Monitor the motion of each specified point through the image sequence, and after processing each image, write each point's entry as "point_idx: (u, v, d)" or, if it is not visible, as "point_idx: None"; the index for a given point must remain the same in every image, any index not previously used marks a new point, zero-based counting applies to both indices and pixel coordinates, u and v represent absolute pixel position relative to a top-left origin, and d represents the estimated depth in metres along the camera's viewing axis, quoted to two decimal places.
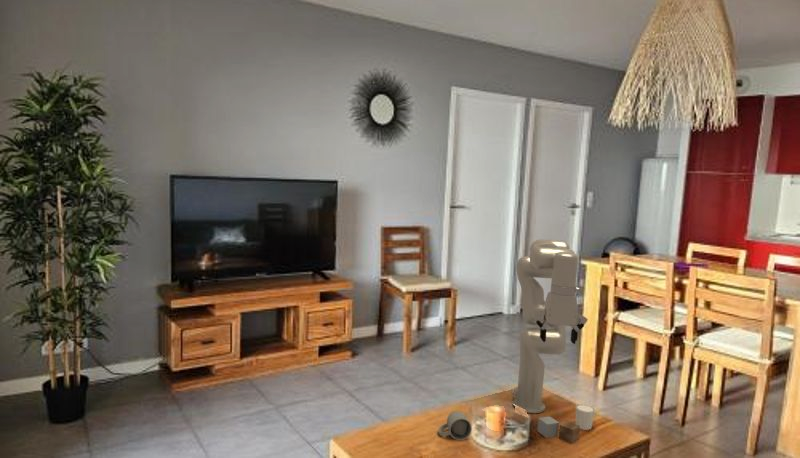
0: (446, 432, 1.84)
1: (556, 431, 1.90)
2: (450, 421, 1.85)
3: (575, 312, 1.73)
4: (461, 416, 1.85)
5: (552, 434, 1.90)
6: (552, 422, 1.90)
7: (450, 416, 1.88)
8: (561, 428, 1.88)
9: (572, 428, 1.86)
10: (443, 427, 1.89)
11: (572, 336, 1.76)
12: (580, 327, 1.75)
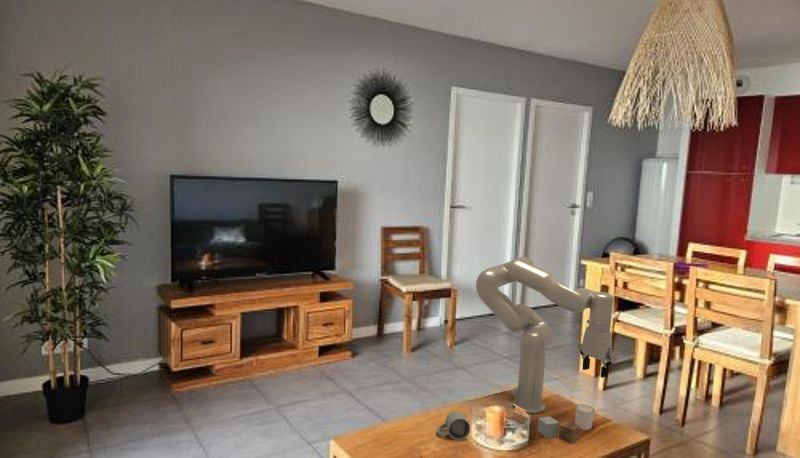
0: (445, 432, 1.84)
1: (556, 431, 1.90)
2: (449, 421, 1.85)
3: None
4: (460, 416, 1.85)
5: (552, 434, 1.90)
6: (552, 422, 1.90)
7: (449, 416, 1.88)
8: (561, 428, 1.88)
9: (572, 428, 1.86)
10: (442, 427, 1.89)
11: (587, 364, 2.02)
12: None
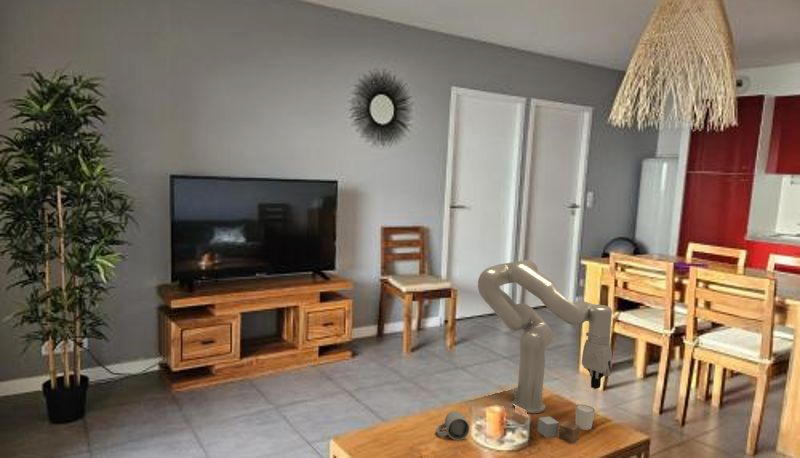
0: (444, 432, 1.84)
1: (556, 431, 1.90)
2: (448, 421, 1.85)
3: None
4: (459, 416, 1.85)
5: (552, 434, 1.90)
6: (552, 422, 1.90)
7: (448, 416, 1.88)
8: (561, 428, 1.88)
9: (572, 428, 1.86)
10: (441, 427, 1.89)
11: None
12: None
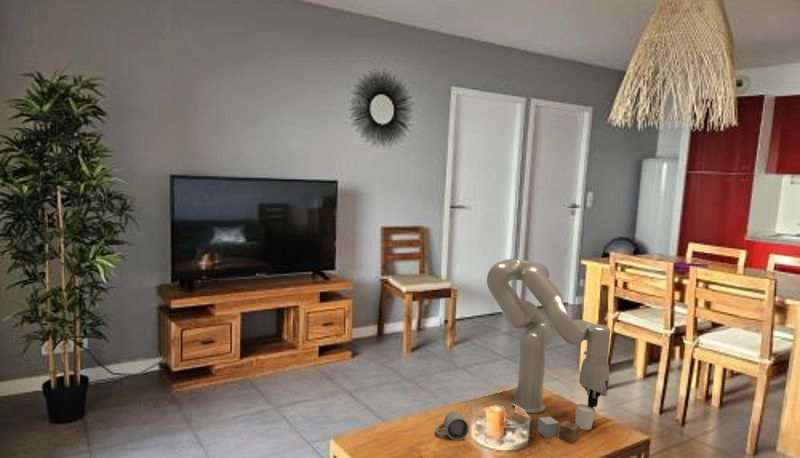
0: (443, 432, 1.84)
1: (556, 431, 1.90)
2: (447, 421, 1.85)
3: None
4: (458, 416, 1.85)
5: (552, 434, 1.90)
6: (552, 422, 1.90)
7: (447, 416, 1.88)
8: (561, 428, 1.88)
9: (572, 428, 1.86)
10: (440, 427, 1.89)
11: None
12: None
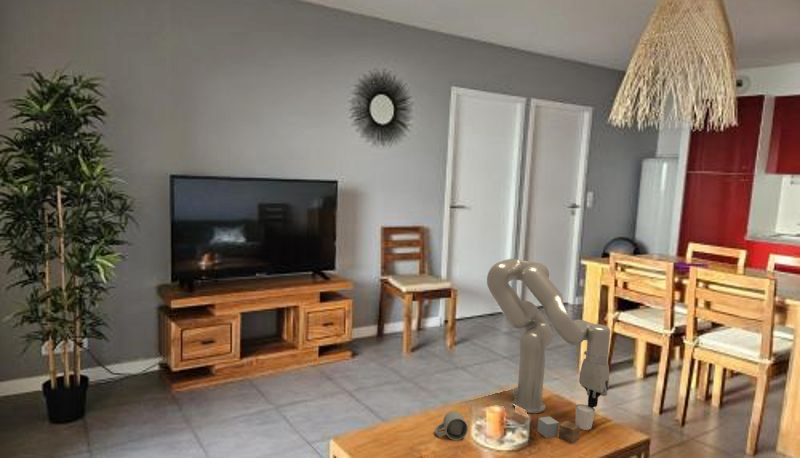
0: (442, 432, 1.84)
1: (556, 431, 1.90)
2: (446, 421, 1.85)
3: None
4: (457, 416, 1.85)
5: (552, 434, 1.90)
6: (552, 422, 1.90)
7: (446, 416, 1.88)
8: (561, 428, 1.88)
9: (572, 428, 1.86)
10: (439, 427, 1.89)
11: None
12: None
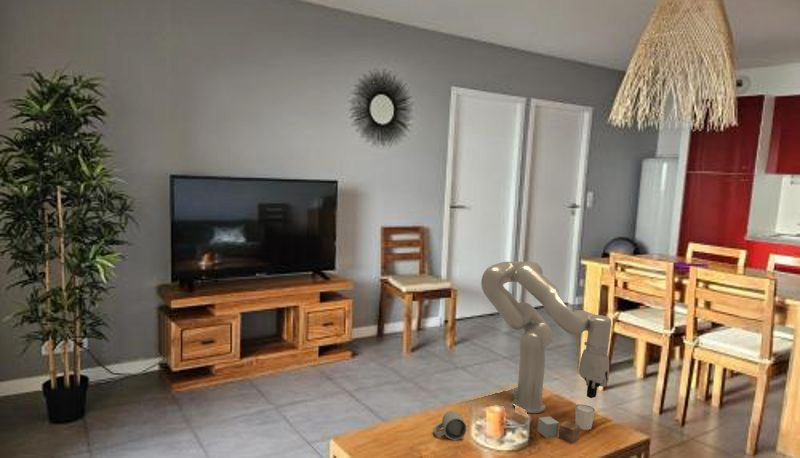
0: (441, 432, 1.84)
1: (556, 431, 1.90)
2: (445, 421, 1.85)
3: None
4: (456, 416, 1.85)
5: (552, 434, 1.90)
6: (552, 422, 1.90)
7: (445, 416, 1.88)
8: (561, 428, 1.88)
9: (572, 428, 1.86)
10: (438, 427, 1.89)
11: None
12: None
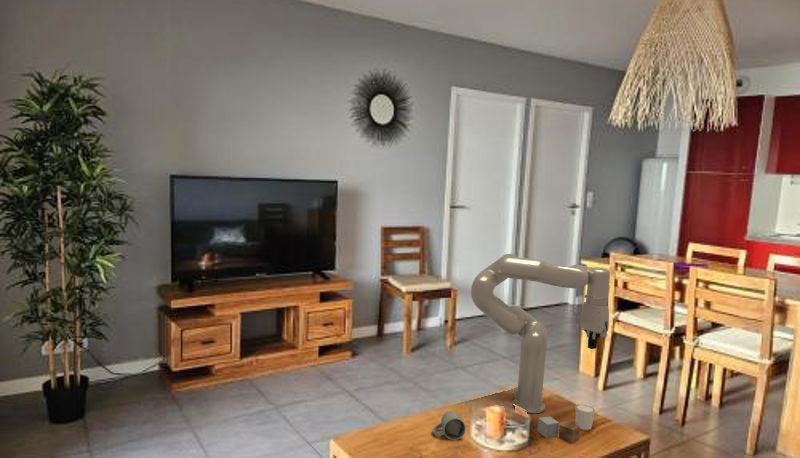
0: (440, 432, 1.84)
1: (556, 431, 1.90)
2: (444, 421, 1.85)
3: None
4: (455, 416, 1.85)
5: (552, 434, 1.90)
6: (552, 422, 1.90)
7: (444, 416, 1.88)
8: (561, 428, 1.88)
9: (572, 428, 1.86)
10: (437, 427, 1.89)
11: None
12: None
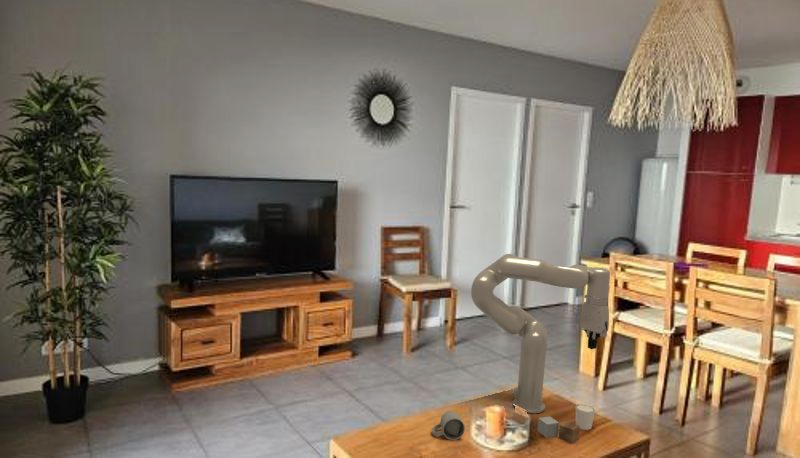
0: (439, 432, 1.84)
1: (556, 431, 1.90)
2: (444, 421, 1.85)
3: None
4: (454, 416, 1.85)
5: (552, 434, 1.90)
6: (552, 422, 1.90)
7: (443, 416, 1.88)
8: (561, 428, 1.88)
9: (572, 428, 1.86)
10: (437, 427, 1.89)
11: None
12: None
